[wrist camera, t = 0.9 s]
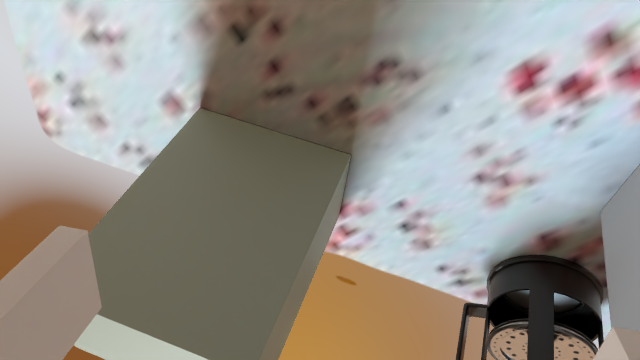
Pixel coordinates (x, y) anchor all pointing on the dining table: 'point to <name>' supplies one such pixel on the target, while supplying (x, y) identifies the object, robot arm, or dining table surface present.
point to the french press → (538, 312)
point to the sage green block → (214, 245)
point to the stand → (623, 253)
